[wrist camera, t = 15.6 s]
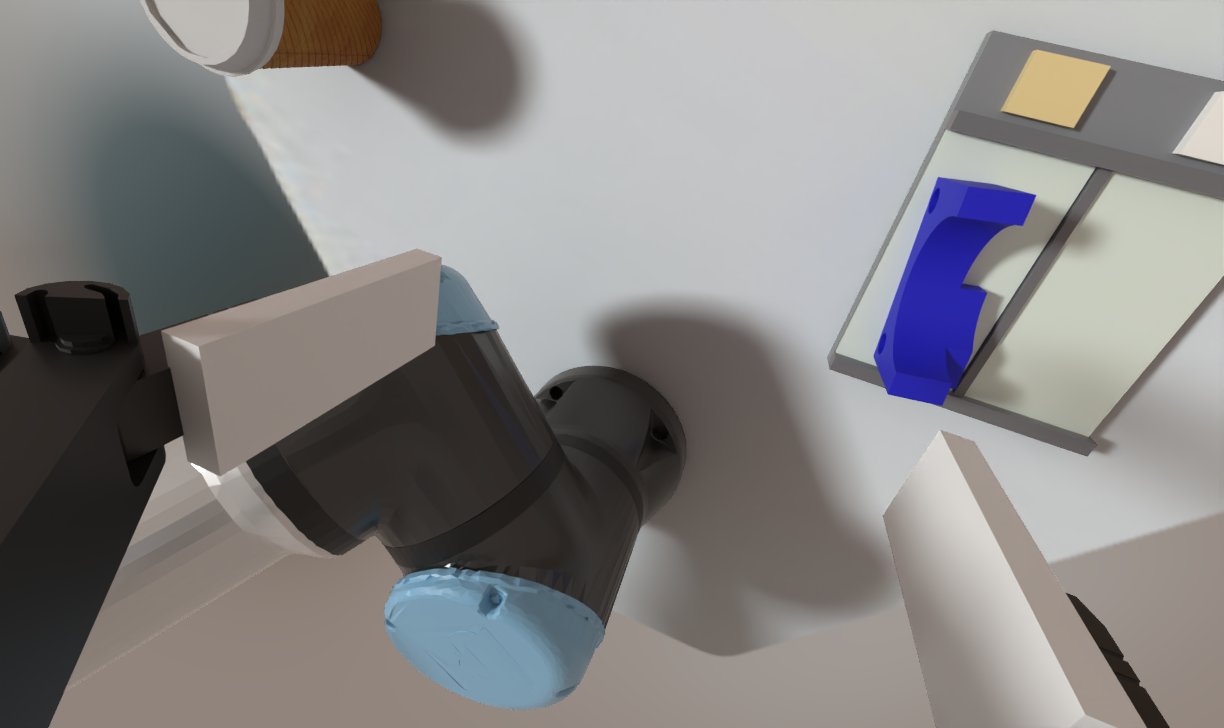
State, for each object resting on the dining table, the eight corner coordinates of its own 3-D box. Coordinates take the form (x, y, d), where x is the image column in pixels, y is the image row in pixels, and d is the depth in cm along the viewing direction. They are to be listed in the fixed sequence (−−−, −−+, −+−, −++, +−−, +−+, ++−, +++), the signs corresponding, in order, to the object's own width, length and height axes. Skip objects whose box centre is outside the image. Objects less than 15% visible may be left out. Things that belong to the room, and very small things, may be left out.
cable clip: (942, 370, 35) (970, 411, 30) (873, 356, 36) (887, 394, 31) (1022, 187, 30) (1072, 199, 25) (937, 176, 31) (968, 186, 26)
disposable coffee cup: (276, -40, 39) (90, -102, 29) (376, -79, 36) (207, -165, 25) (321, 99, 42) (169, 89, 32) (415, 75, 39) (281, 55, 29)
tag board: (827, 357, 38) (829, 369, 37) (986, 33, 29) (1001, 26, 27) (1071, 439, 36) (1087, 456, 34) (1339, 111, 26) (1383, 110, 24)
